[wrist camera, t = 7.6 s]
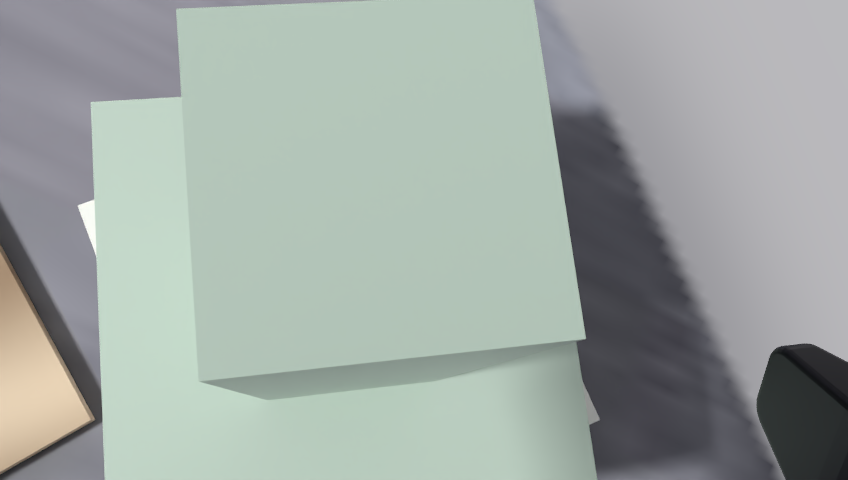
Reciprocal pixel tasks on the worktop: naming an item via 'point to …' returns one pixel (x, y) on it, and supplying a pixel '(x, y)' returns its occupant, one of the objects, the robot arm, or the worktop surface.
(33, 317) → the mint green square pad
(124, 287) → the mint green stamp
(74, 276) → the worktop surface
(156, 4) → the worktop surface
